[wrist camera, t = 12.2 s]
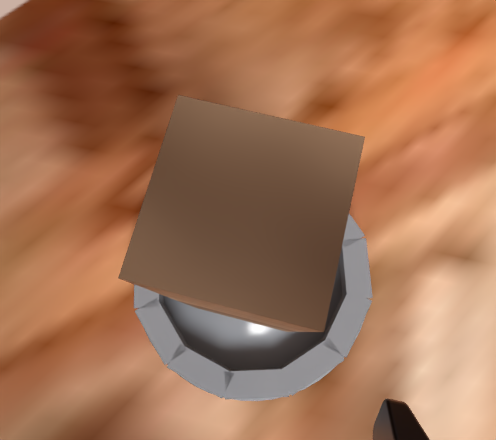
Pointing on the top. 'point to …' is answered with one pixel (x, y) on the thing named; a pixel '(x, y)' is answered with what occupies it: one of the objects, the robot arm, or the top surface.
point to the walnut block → (245, 215)
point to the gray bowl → (259, 336)
